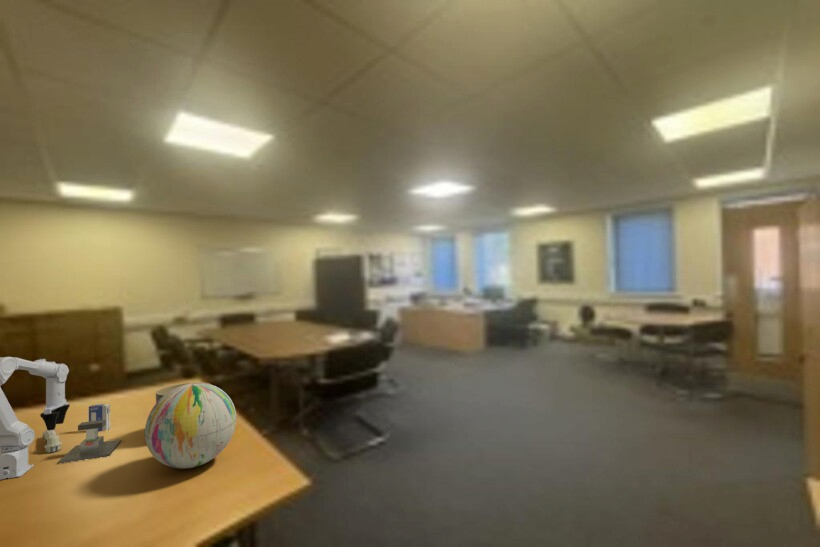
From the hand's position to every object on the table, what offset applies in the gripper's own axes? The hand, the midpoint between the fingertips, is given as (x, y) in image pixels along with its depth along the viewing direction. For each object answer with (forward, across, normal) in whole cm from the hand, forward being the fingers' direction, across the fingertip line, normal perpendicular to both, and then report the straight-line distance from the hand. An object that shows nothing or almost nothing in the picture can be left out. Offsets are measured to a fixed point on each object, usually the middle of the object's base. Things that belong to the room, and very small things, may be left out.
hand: (55, 426), depth 161 cm
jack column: (+6, -6, -14) cm, 16 cm away
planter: (+11, +2, -46) cm, 47 cm away
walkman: (+11, +23, -8) cm, 27 cm away
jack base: (+10, -6, -14) cm, 18 cm away
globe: (+11, -36, -54) cm, 66 cm away
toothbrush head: (+11, +11, +6) cm, 17 cm away
